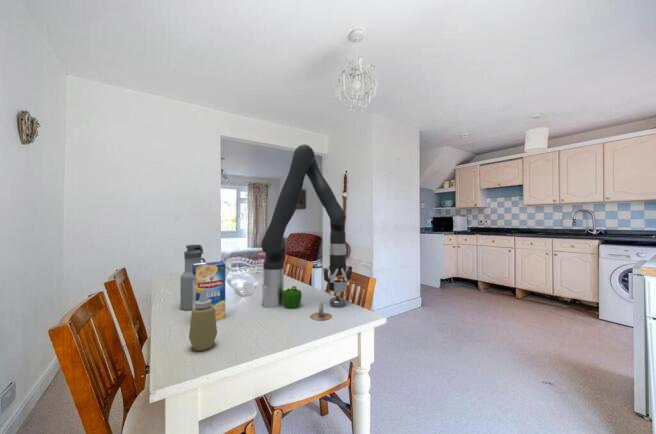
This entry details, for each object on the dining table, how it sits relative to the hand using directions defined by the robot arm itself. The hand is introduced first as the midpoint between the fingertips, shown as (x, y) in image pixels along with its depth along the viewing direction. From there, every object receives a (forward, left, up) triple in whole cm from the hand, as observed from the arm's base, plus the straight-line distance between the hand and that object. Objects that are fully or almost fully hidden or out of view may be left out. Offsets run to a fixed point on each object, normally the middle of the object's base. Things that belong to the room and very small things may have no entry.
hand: (337, 289), depth 121 cm
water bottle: (-61, +24, -8) cm, 66 cm away
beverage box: (-54, +6, -8) cm, 55 cm away
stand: (-12, -10, -8) cm, 17 cm away
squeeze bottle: (-55, -18, -8) cm, 58 cm away
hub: (0, 0, -8) cm, 8 cm away
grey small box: (0, 0, 0) cm, 0 cm away
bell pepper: (-20, +6, -8) cm, 22 cm away
